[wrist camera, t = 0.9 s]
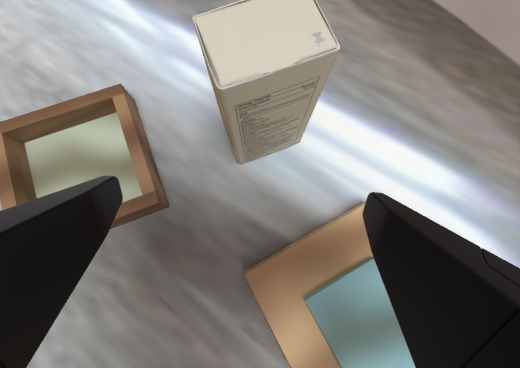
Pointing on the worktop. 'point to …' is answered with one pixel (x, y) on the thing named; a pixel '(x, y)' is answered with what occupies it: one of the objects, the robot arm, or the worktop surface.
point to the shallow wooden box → (330, 300)
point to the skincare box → (266, 69)
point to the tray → (81, 152)
